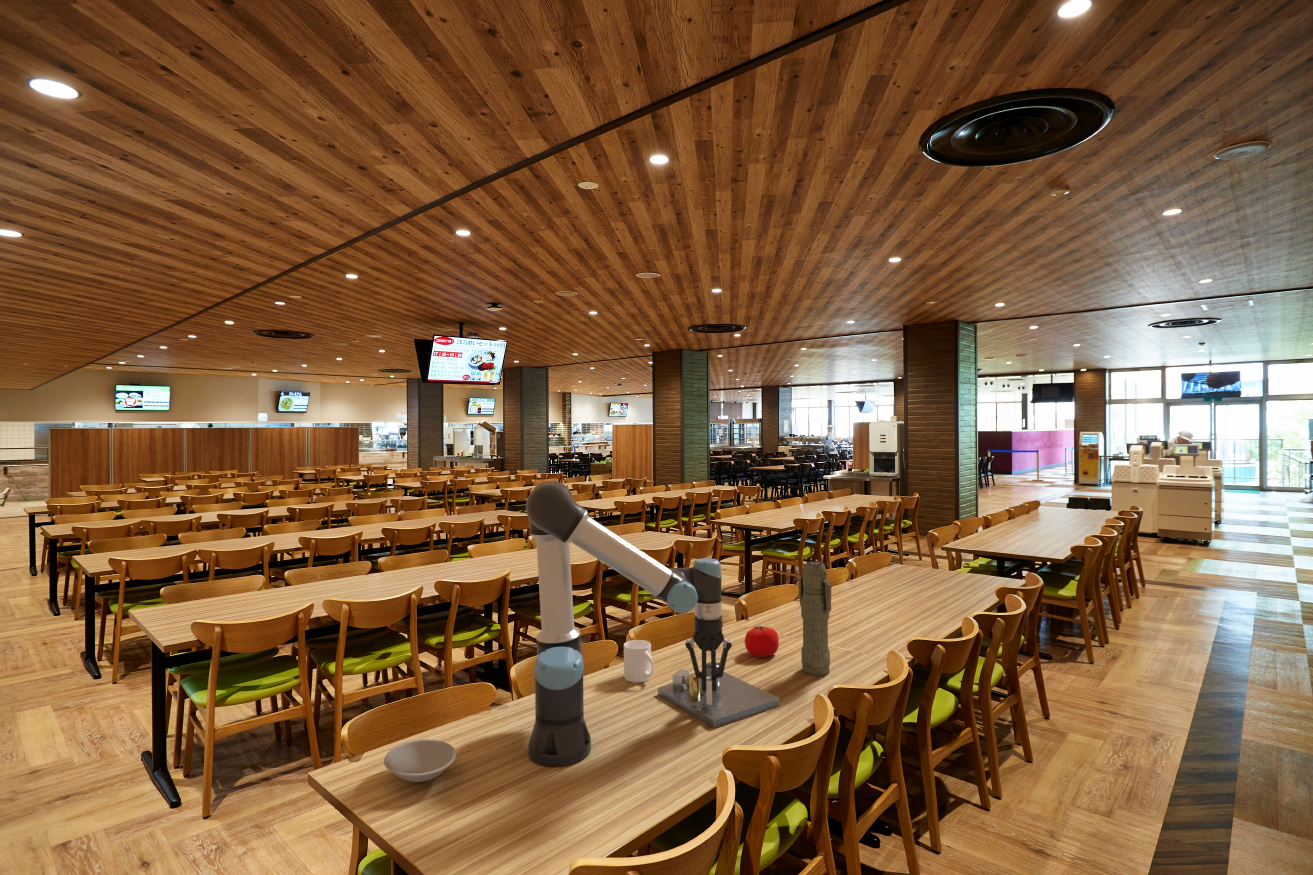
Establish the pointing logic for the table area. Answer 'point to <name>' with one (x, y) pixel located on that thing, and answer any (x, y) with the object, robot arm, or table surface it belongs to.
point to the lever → (698, 683)
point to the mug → (637, 661)
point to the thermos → (815, 618)
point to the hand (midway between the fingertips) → (709, 702)
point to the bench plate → (719, 699)
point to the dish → (420, 759)
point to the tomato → (761, 641)
